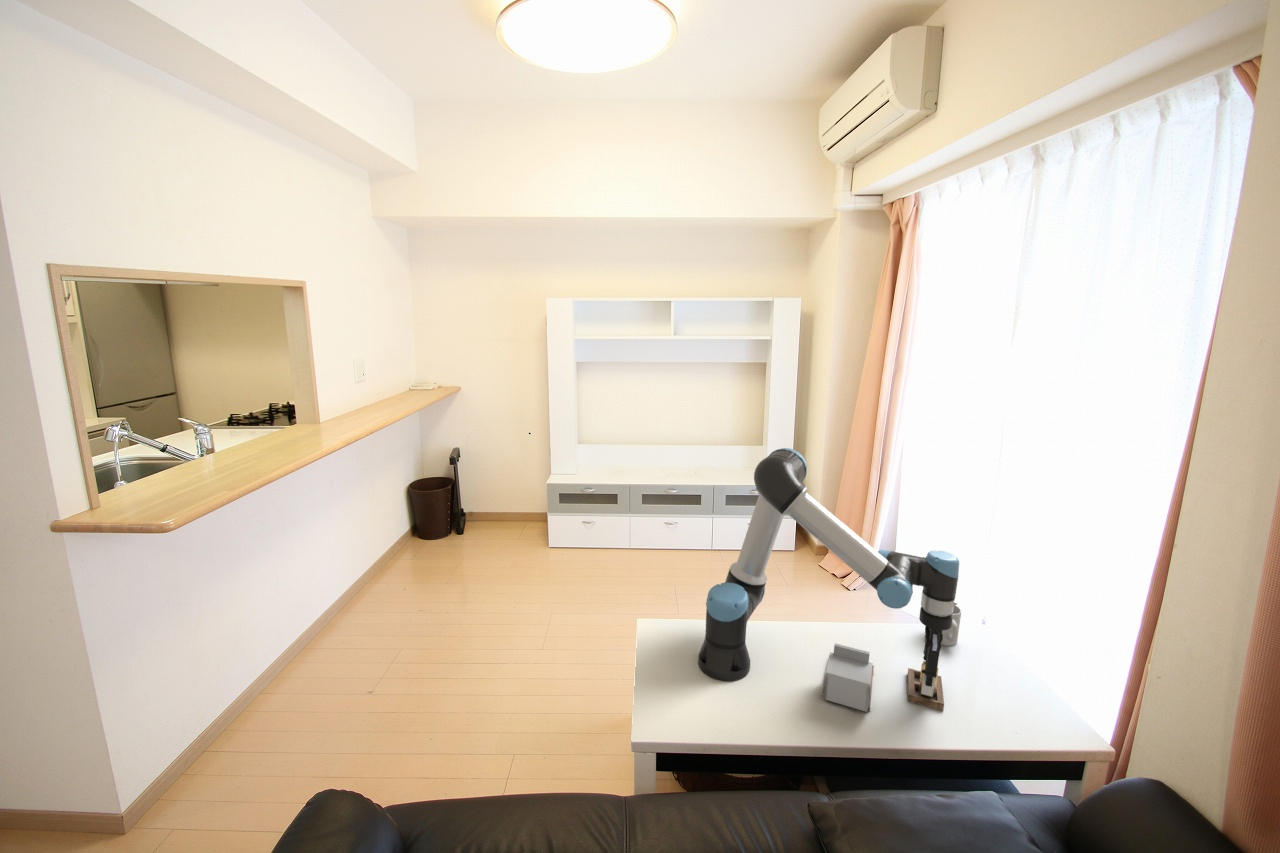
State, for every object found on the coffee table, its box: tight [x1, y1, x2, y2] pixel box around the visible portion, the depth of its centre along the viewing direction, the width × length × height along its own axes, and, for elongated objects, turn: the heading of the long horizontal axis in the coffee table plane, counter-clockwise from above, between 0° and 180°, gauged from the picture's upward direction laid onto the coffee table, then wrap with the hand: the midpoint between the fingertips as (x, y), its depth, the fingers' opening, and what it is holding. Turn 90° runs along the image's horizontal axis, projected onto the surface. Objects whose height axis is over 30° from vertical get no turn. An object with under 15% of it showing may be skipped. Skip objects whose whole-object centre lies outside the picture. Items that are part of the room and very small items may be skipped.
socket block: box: [907, 667, 945, 712], centre depth 151 cm, size 8×13×2 cm, turn 155°
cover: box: [822, 643, 874, 713], centre depth 147 cm, size 11×10×11 cm
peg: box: [919, 662, 939, 698], centre depth 148 cm, size 4×4×8 cm
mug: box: [941, 605, 962, 647], centre depth 175 cm, size 12×8×11 cm
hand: (926, 689), depth 148 cm, fingers closed on peg, 4 cm apart
